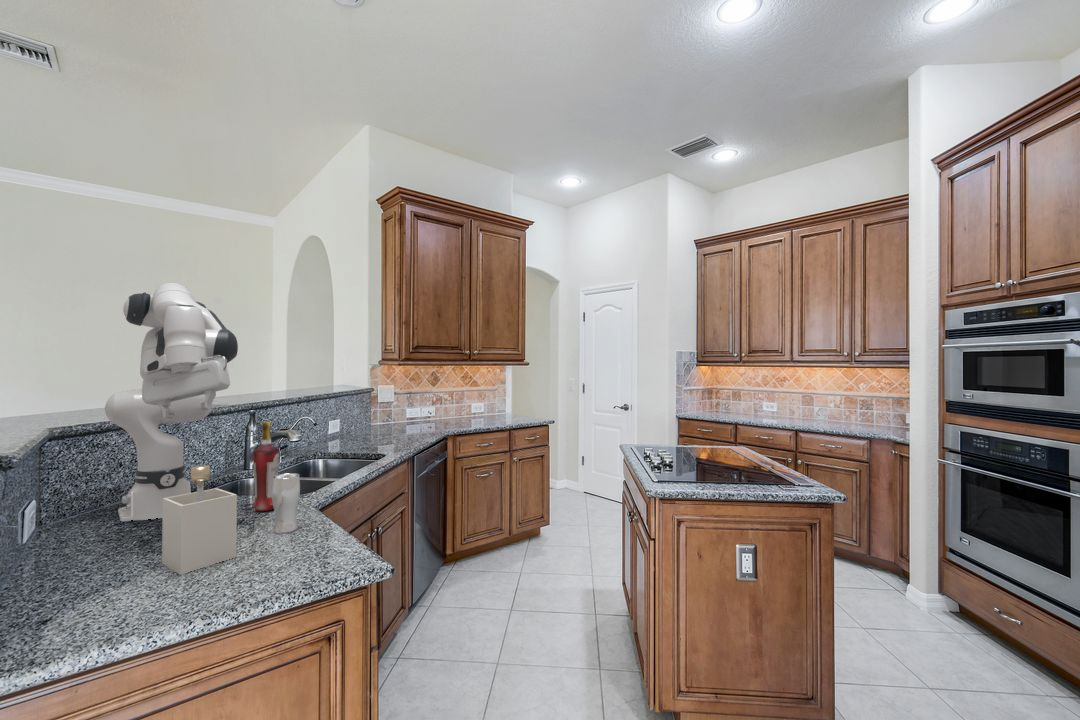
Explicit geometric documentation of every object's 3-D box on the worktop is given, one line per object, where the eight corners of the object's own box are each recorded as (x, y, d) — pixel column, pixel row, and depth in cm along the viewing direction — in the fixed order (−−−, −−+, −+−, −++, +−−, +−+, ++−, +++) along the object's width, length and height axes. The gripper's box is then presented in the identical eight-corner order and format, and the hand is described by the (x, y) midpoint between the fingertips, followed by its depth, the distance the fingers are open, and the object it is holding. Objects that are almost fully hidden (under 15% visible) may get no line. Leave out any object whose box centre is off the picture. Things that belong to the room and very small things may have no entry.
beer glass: (287, 534, 124) (287, 479, 124) (265, 533, 125) (265, 478, 126) (305, 526, 131) (305, 473, 131) (284, 524, 132) (284, 472, 133)
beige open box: (162, 563, 106) (162, 498, 106) (216, 547, 115) (216, 488, 116) (180, 575, 100) (181, 506, 100) (236, 557, 109) (236, 494, 109)
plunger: (170, 551, 107) (171, 468, 107) (212, 540, 114) (213, 461, 114) (185, 560, 102) (185, 472, 102) (228, 547, 109) (229, 465, 109)
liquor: (259, 506, 150) (260, 421, 150) (283, 505, 151) (283, 420, 151) (247, 513, 142) (248, 423, 143) (272, 512, 143) (273, 423, 144)
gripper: (234, 356, 122) (237, 406, 119) (157, 373, 122) (158, 424, 118) (217, 349, 116) (220, 402, 113) (136, 368, 115) (137, 421, 112)
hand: (187, 413), depth 115 cm, fingers open, 8 cm apart
